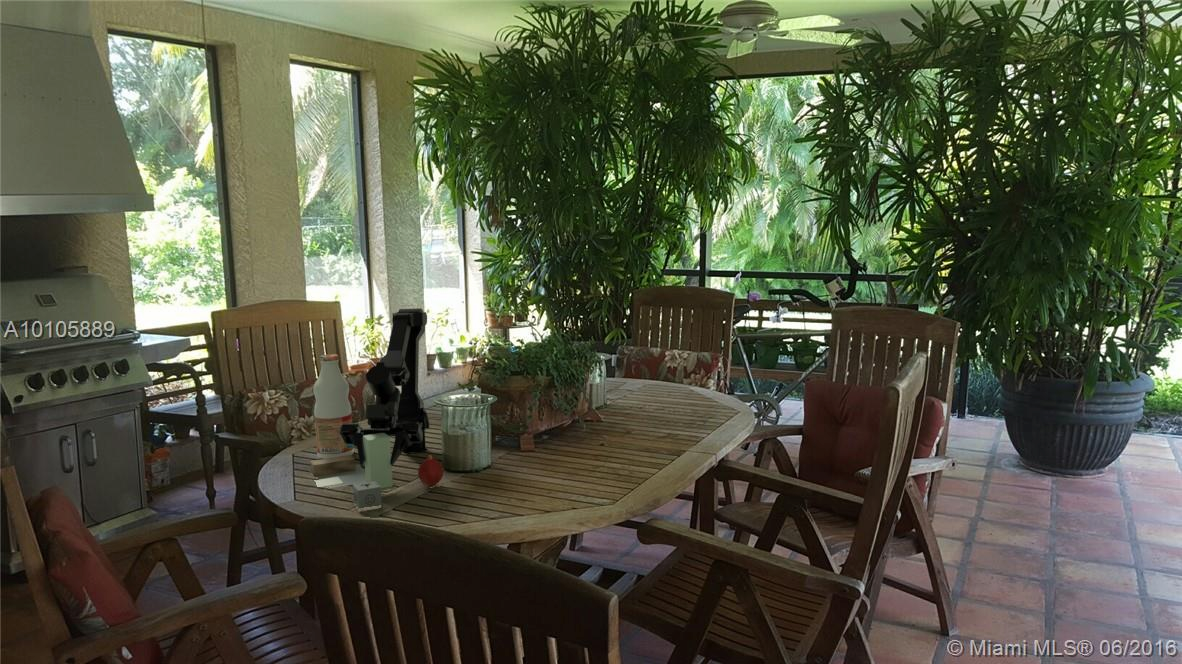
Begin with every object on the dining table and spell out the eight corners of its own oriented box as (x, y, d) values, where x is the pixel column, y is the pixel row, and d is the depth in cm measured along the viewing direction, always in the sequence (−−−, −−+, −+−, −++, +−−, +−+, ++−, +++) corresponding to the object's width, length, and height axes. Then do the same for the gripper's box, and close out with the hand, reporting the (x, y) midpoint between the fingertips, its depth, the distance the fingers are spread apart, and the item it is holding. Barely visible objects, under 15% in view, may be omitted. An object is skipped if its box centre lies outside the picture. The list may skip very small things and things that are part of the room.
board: (359, 468, 212) (358, 463, 212) (375, 485, 199) (374, 480, 198) (302, 477, 206) (301, 472, 206) (314, 495, 192) (314, 490, 192)
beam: (351, 466, 210) (351, 454, 210) (355, 470, 207) (354, 458, 207) (311, 472, 206) (310, 461, 205) (314, 477, 202) (313, 465, 202)
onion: (417, 485, 198) (415, 453, 197) (441, 482, 200) (439, 450, 199) (421, 492, 192) (419, 459, 191) (445, 489, 194) (444, 456, 193)
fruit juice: (313, 457, 224) (306, 355, 220) (348, 451, 229) (341, 351, 225) (323, 465, 216) (315, 359, 212) (358, 459, 221) (352, 355, 217)
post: (387, 485, 198) (384, 432, 197) (393, 491, 194) (389, 437, 192) (366, 489, 196) (363, 435, 194) (371, 494, 192) (368, 440, 190)
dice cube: (376, 502, 187) (375, 480, 186) (382, 508, 183) (380, 486, 182) (353, 506, 185) (352, 484, 184) (359, 512, 180) (357, 490, 180)
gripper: (339, 390, 196) (327, 448, 187) (417, 388, 196) (409, 446, 186) (351, 414, 205) (340, 471, 195) (426, 413, 205) (418, 470, 195)
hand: (376, 464), depth 193 cm, fingers closed on post, 7 cm apart
